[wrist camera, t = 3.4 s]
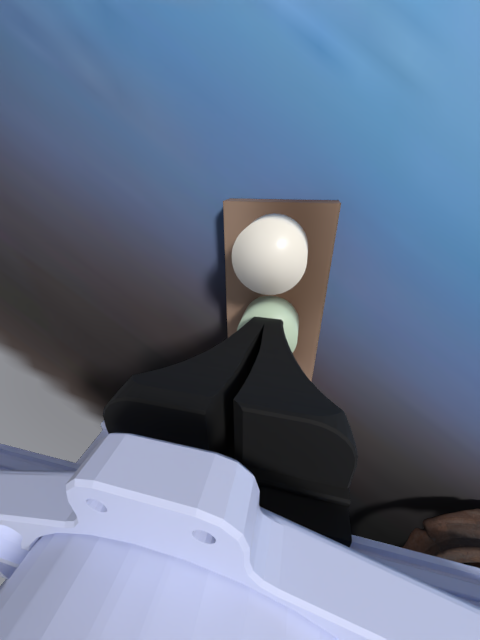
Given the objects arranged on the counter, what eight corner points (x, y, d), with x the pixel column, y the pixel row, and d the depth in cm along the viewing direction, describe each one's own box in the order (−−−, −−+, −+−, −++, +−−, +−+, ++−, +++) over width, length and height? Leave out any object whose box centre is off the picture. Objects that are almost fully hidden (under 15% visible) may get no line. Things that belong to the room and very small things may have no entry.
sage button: (244, 340, 15) (236, 358, 13) (244, 293, 13) (236, 307, 12) (296, 347, 14) (294, 366, 13) (302, 298, 13) (300, 313, 11)
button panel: (233, 374, 18) (229, 386, 17) (230, 198, 13) (223, 200, 12) (308, 385, 17) (308, 399, 16) (338, 200, 12) (340, 203, 11)
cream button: (241, 278, 12) (232, 291, 11) (241, 212, 11) (230, 218, 9) (304, 283, 12) (302, 298, 10) (312, 214, 10) (312, 221, 9)
